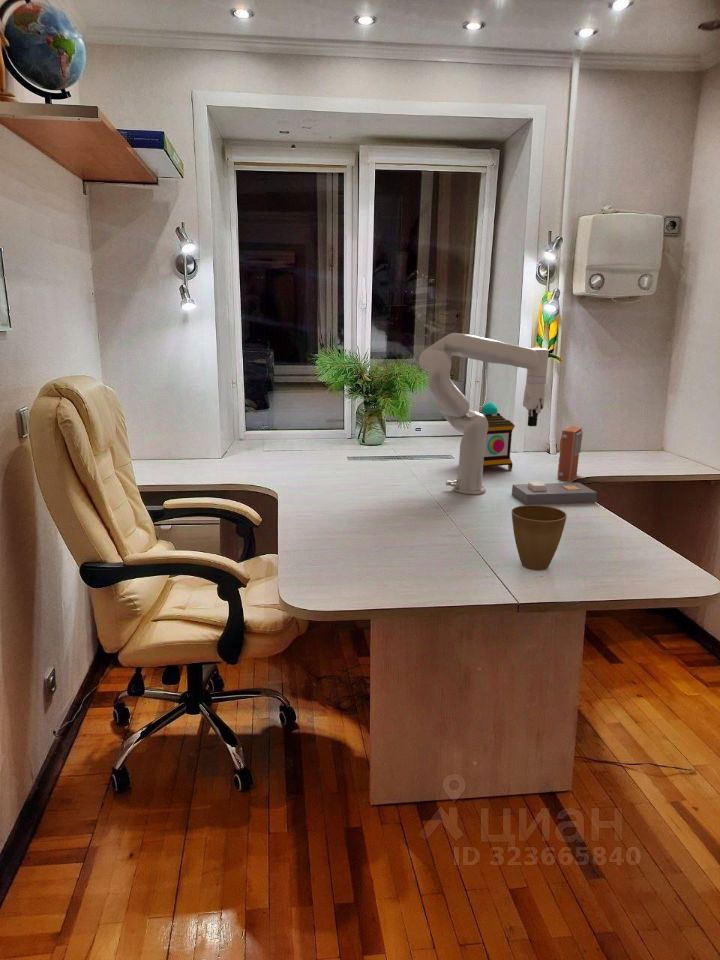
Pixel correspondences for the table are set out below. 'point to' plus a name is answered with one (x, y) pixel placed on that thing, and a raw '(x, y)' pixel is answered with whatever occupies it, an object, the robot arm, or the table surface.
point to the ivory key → (537, 486)
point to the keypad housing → (554, 494)
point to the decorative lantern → (497, 438)
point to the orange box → (569, 452)
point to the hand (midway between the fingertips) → (532, 425)
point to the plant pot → (537, 534)
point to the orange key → (570, 487)
